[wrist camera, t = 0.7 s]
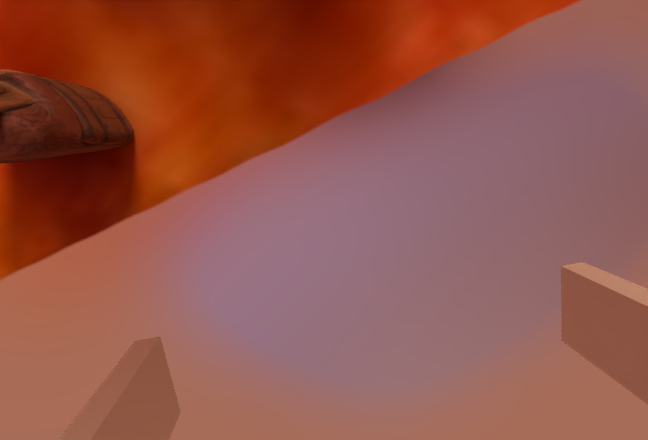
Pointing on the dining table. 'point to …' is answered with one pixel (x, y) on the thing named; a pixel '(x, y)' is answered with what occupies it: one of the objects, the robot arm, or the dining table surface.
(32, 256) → the dining table surface
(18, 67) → the dining table surface
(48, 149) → the wooden figurine
